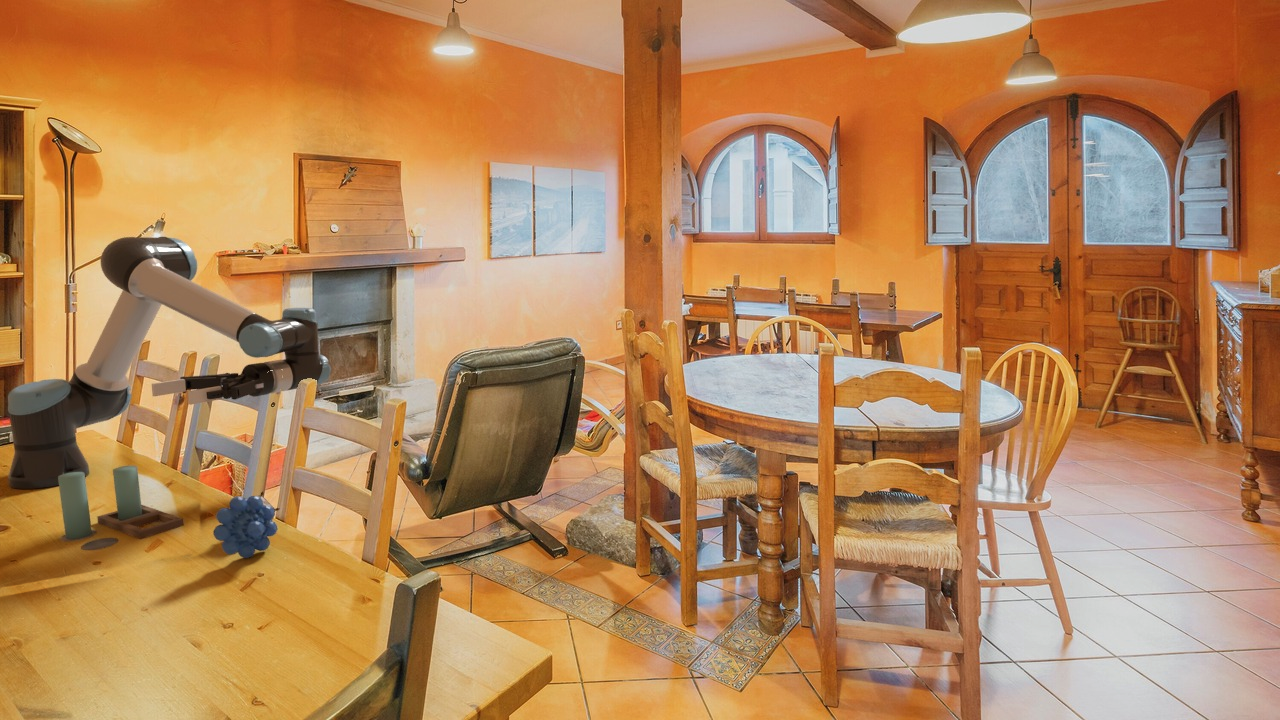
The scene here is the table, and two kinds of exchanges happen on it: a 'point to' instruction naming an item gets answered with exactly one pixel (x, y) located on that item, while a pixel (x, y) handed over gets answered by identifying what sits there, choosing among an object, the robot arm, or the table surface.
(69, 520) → the pin
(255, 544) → the blue flower wheel
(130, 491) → the teal pin
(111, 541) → the pattern plate
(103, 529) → the table surface
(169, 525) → the brown wooden peg holder
